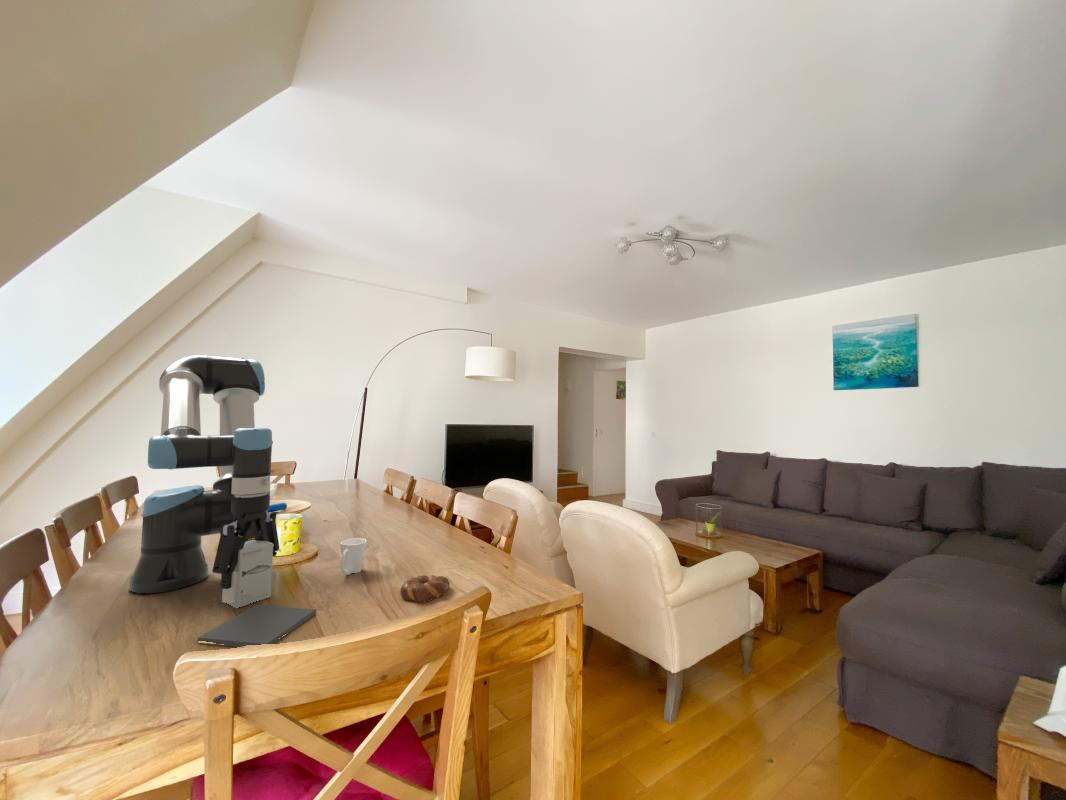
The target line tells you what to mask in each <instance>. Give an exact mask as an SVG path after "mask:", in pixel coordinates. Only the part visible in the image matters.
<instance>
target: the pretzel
mask: <svg viewBox="0 0 1066 800" xmlns="http://www.w3.org/2000/svg"><path fill="white" fill-rule="evenodd" d="M450 583H451V582H450V580H449V579H448V578H447V577H446V576H443V575H439V576H437V575H430V576H429V575H424V574H423V575H418V576H416V577H411V578H409V579H406V580H405V581H404V583H403V584H402V585H401V588H400V591H399V593H400V596H401V598H403V600H405V601H409V602H417V603H425V602H424V601H428V600H431V599H433V598H434V599H436V598H435V597H438V596H439V595H443V596H445V595H446V594H445V593H448V590H449V588H450ZM447 589H448V590H447ZM444 594H445V595H444ZM439 597H440V596H439ZM439 597H438V598H439ZM434 599H433V600H434ZM414 600H416V601H414ZM431 601H432V600H431ZM428 602H429V601H428Z"/></svg>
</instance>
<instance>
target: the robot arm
mask: <svg viewBox="0 0 1066 800" xmlns="http://www.w3.org/2000/svg"><path fill="white" fill-rule="evenodd" d="M265 380H266V379H265V372H264V369H263V366H262V364H261V363H260V361H258V360H256V359H250V358H245V357H241V358H238V357H237V358H236V357H227V356H215V355H205V354H194V355H189V356H185V357H183V358H180V359H178V360H176V361H174V362H173V363H171V364H169V366H167V367H166V368H165V369H164V370H163V372H162V373H161V375H160V377H159V381H158V387H159V391H160V393H161V394H162V395H163V396H162V397H163V398H162V410H161V411H162V413H161V425H160V426H161V427H160V435H158V436H151V437H150V438H149V440H148V448H147V449H148V450H147V466H148V467H149V468H150V469H152V470H171V471H172V470H178V469H180V470H181V469H193V468H207V467H210V468H211V467H213V468H214V467H219V478H218V479H217V480H216V481H214V482H213V483H212V489H211V490H205V488H204V486H203V485H200V484H199V485H198V484H196V485H185V486H179V487H174V488H169V489H164V490H161V491H157V492H155V493H151V494H150V495H148V496H147V497H146V498H145V499H144V501H143V507H142V513H141V517H142V525H141V538H140V539H141V542H140V554H139V558H138V561H137V564H135V568H134V570H133V574H132V575H131V576H130V579H129V582H128V583H129V584H128V590H130V591H129V592H131V591H132V592H131V593H133V592H136V593H135V594H140V593H146V594H147V593H148V594H158V593H165V592H170V591H171V592H172V591H175V590H179V588H180V589H183V587H184V588H186V586H187V587H189V586H193V585H194V584H195V583H196V584H198V583H200V582H202V581H203V579H204V580H206V578H208V576H209V565H208V562H206V561H207V560H206V557H205V554H204V551H203V549H202V537H203V536H210V535H218V534H219V535H220V536H219V540H218V544H217V548H216V549H217V550H216V554H215V559H214V560H213V561H214V563H213V565H212V566H213V567H212V570H211V571H212V573H213V574H221V576H220V577H221V578H220V579H221V580H220V582H221V584H220V588H221V590H222V589H223V594H222V593H221V603H225V604H226V603H235V602H236V592H237V572H235V571H234V569H235V567H236V564H237V562H238V551H239V550H241V549H243V547H244V544H245V542H246V541H249V539H250V537H251V536H253V538H254V540H260V541H267V542H271V543H273V557H276V556H277V554H278V553H277V552H278V551H279V550H280V543H279V536H278V535H279V534H278V530H277V513H276V512H270V511H269V510H270V505H271V475H272V474H271V473H272V472H271V471H272V470H271V469H272V452H273V451H272V450H273V443H274V441H273V431H272V430H271V429H270V428H269V427H255V404H256V402H258V401H259V400H260V397H261V396H263V395H264V394H265V388H266V384H265ZM201 394H205V395H206V394H207V395H213V401H214V402H215V403H217V404H218V405H219V434H215V435H214V434H213V435H211V434H210V435H202V431H201V428H202V427H201V426H202V425H201V405H200V404H201V403H200V402H201V401H200V400H201V399H200V395H201ZM228 565H229V567H228ZM201 580H202V581H201ZM199 581H200V582H199ZM197 582H198V583H197ZM192 584H193V585H192Z"/></svg>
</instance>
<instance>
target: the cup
mask: <svg viewBox="0 0 1066 800" xmlns="http://www.w3.org/2000/svg"><path fill="white" fill-rule="evenodd" d="M366 547H367V539H366V538H361V537H354V538H347V539H344V540H342V541H340V551H341V559H340V565H339V566H340V567H339V568H340V570H341V572H342V573H343V574H344V575H347V576H349V575H351V573H355V574H358V573H360V572H362V565H363V562H364V558H365V551H366ZM359 571H360V572H359ZM357 572H358V573H357Z"/></svg>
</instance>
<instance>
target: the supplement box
mask: <svg viewBox="0 0 1066 800" xmlns="http://www.w3.org/2000/svg"><path fill="white" fill-rule="evenodd" d="M273 546H274V545H273V543H271V542H267V541H260V540H255V539H253V540H252V539H251V540H248V541H246V542H245V544H244V547H243V549H241V550H239V551H238V562H237V564H236V567H235V569H234V571H235V572H237V592H236V602H235V603H227V604H226V605H228V604H229V605H228V606H230V605H231V606H230V607H232V606H233V607H232V608H234V607H235V608H234V609H236V608H238V609H239V607H240V608H242V607H244V606H247V605H251V604H254V603H257V602H260V601H263V600H266V598H267V599H270V598H271V596H272V584H273V583H272V582H273V557H274V556H273ZM228 567H229V565H228ZM221 590H222V593H221V595H222V594H223V589H222V588H221ZM269 597H270V598H269ZM259 600H260V601H259ZM256 601H257V602H256ZM253 602H254V603H253ZM250 603H251V604H250Z"/></svg>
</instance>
